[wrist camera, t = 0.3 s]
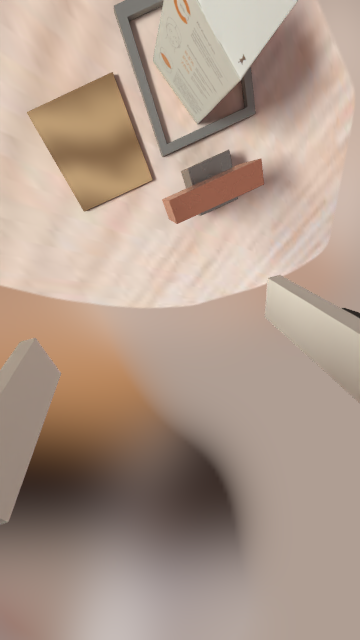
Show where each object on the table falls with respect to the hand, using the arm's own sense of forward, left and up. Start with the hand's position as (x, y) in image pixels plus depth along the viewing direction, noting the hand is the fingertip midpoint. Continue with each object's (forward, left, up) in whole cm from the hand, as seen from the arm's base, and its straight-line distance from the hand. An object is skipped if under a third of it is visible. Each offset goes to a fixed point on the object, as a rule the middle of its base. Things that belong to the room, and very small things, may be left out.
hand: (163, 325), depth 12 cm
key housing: (-3, +13, -27) cm, 30 cm away
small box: (-15, +15, -27) cm, 34 cm away
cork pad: (-12, 0, -27) cm, 29 cm away
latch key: (-3, +10, -23) cm, 25 cm away
